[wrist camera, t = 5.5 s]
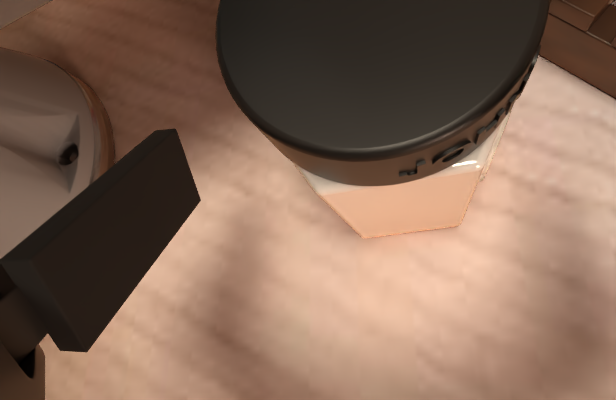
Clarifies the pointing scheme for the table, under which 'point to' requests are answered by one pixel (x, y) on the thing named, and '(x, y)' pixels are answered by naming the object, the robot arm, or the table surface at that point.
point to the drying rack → (583, 40)
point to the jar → (382, 96)
